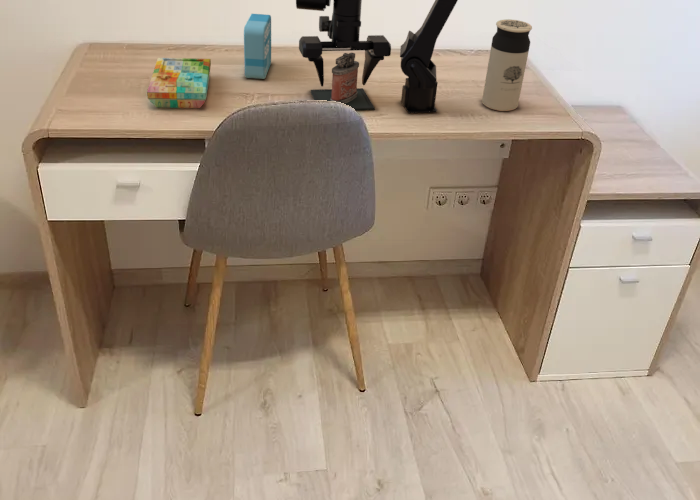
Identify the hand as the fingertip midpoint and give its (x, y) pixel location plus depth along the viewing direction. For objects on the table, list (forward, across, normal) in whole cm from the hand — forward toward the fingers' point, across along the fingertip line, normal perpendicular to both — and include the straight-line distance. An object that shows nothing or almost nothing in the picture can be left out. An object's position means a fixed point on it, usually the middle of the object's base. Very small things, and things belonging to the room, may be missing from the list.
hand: (342, 85), depth 161 cm
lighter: (+3, 0, 0) cm, 3 cm away
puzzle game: (+4, +34, -8) cm, 35 cm away
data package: (+4, +16, -19) cm, 25 cm away
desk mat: (+4, 0, 0) cm, 4 cm away
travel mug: (+4, -35, +5) cm, 36 cm away
